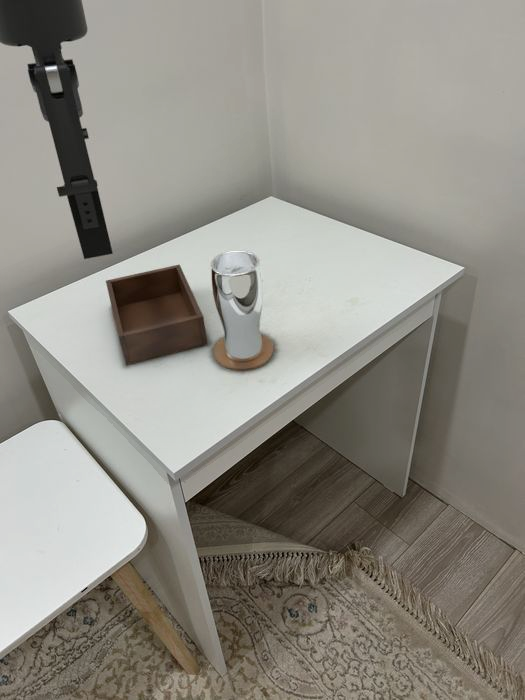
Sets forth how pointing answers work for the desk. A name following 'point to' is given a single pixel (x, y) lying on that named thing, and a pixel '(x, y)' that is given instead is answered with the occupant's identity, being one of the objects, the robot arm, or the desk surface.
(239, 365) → the coaster
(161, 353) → the crate
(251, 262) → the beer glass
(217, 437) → the desk surface
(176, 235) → the desk surface
